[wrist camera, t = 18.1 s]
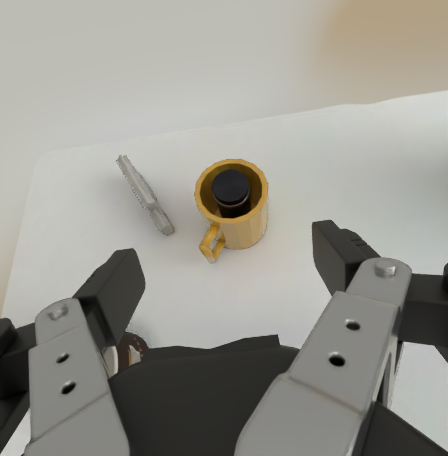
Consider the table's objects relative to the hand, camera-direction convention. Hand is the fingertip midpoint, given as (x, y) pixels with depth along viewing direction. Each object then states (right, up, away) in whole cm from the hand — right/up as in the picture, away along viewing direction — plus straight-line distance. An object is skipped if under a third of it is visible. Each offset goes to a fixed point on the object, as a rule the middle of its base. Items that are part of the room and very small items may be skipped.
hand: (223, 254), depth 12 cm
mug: (+1, +1, +25) cm, 25 cm away
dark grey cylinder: (+2, +2, +24) cm, 25 cm away
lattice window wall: (-10, +5, +28) cm, 30 cm away
